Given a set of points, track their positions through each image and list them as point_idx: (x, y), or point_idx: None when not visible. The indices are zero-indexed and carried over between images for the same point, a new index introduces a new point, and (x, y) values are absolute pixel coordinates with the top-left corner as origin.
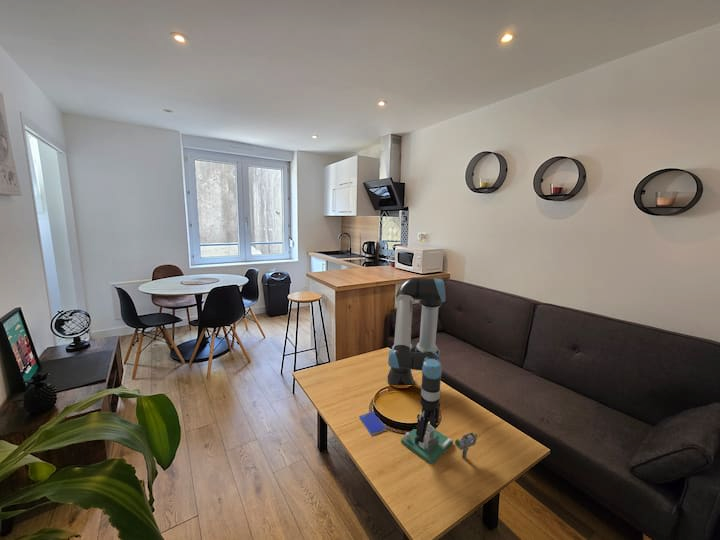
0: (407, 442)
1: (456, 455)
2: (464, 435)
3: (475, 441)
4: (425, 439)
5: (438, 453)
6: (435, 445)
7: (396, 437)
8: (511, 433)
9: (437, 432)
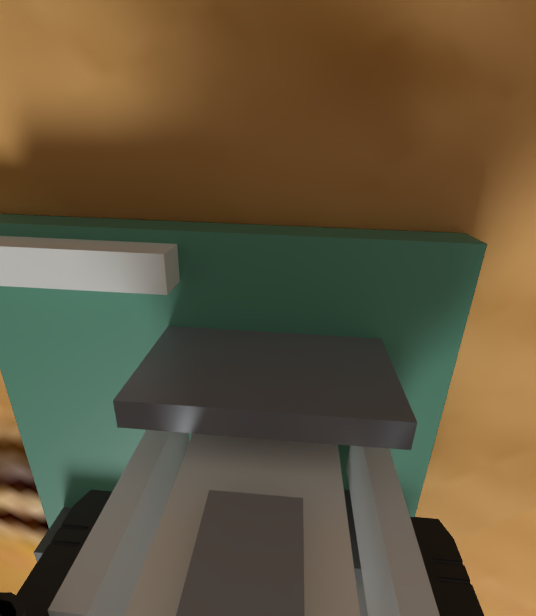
0: None
1: (93, 72)
2: None
3: None
4: (400, 552)
5: (291, 258)
6: (235, 349)
7: None
8: None
9: (32, 413)
